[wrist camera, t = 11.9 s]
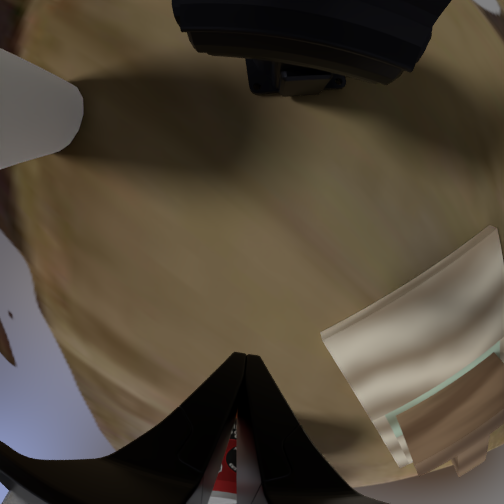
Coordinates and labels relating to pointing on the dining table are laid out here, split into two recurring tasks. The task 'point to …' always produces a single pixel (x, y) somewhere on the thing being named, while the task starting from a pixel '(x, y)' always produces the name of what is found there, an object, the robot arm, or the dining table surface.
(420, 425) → the t block
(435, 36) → the dining table surface
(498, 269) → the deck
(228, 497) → the canned food
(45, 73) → the foam cup
